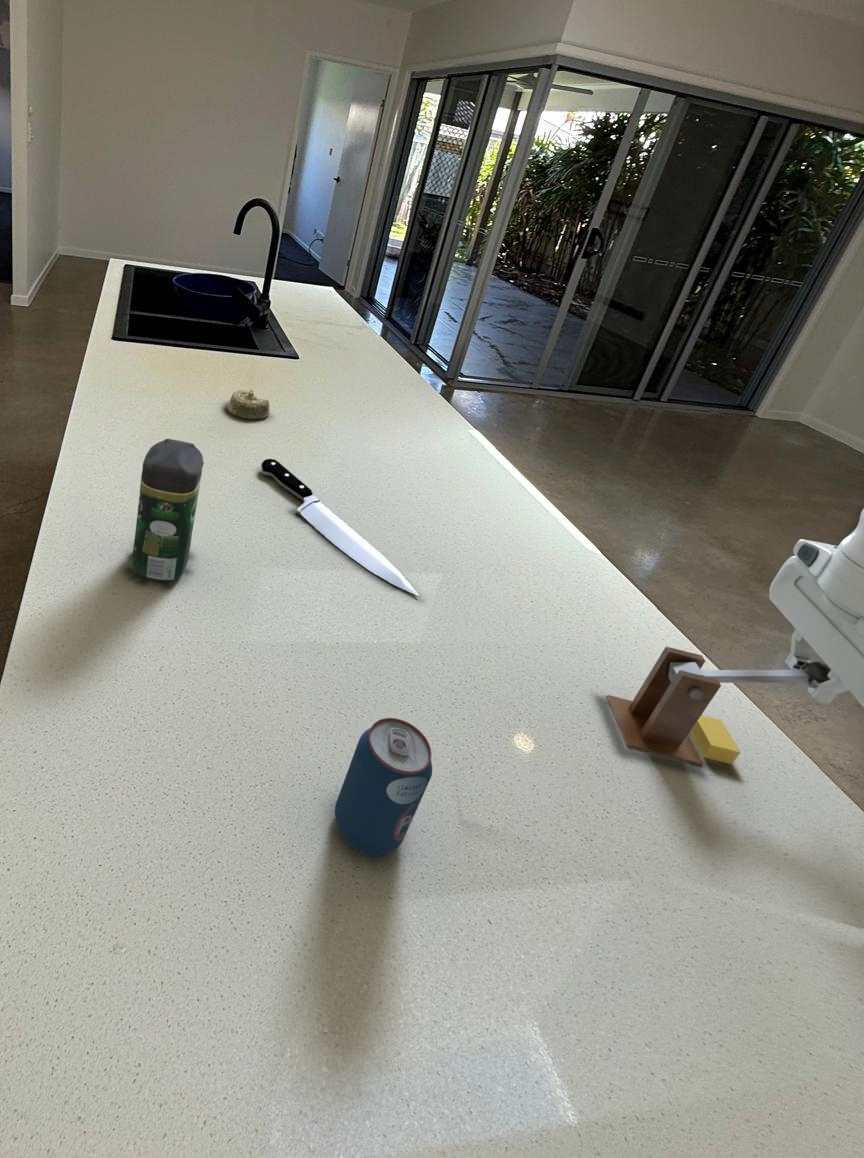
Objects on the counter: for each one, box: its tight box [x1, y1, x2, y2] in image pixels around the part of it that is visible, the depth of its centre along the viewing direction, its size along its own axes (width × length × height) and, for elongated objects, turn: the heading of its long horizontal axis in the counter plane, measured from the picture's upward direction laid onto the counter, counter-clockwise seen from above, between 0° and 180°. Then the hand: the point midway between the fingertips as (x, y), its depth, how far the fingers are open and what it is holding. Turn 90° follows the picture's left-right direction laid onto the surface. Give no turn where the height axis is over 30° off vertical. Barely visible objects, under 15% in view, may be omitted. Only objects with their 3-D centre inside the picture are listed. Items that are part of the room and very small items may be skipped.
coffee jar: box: [130, 438, 205, 583], centre depth 91 cm, size 10×8×19 cm
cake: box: [226, 389, 271, 420], centre depth 149 cm, size 10×10×5 cm
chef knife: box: [260, 458, 420, 597], centre depth 112 cm, size 5×41×2 cm, turn 36°
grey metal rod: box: [668, 661, 831, 687], centre depth 77 cm, size 17×3×3 cm, turn 81°
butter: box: [689, 714, 741, 765], centre depth 82 cm, size 4×5×3 cm
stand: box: [605, 646, 722, 766], centre depth 80 cm, size 9×8×12 cm
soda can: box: [334, 717, 433, 857], centre depth 61 cm, size 7×7×12 cm
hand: (805, 682), depth 76 cm, fingers closed on grey metal rod, 3 cm apart
